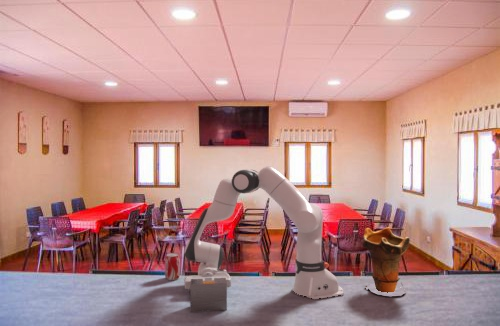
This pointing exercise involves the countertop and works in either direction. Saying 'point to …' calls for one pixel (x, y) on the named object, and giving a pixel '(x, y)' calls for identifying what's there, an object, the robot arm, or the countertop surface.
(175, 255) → the soda can
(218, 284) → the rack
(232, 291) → the countertop surface
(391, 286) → the decorative vase
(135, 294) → the countertop surface
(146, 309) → the countertop surface
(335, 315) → the countertop surface
